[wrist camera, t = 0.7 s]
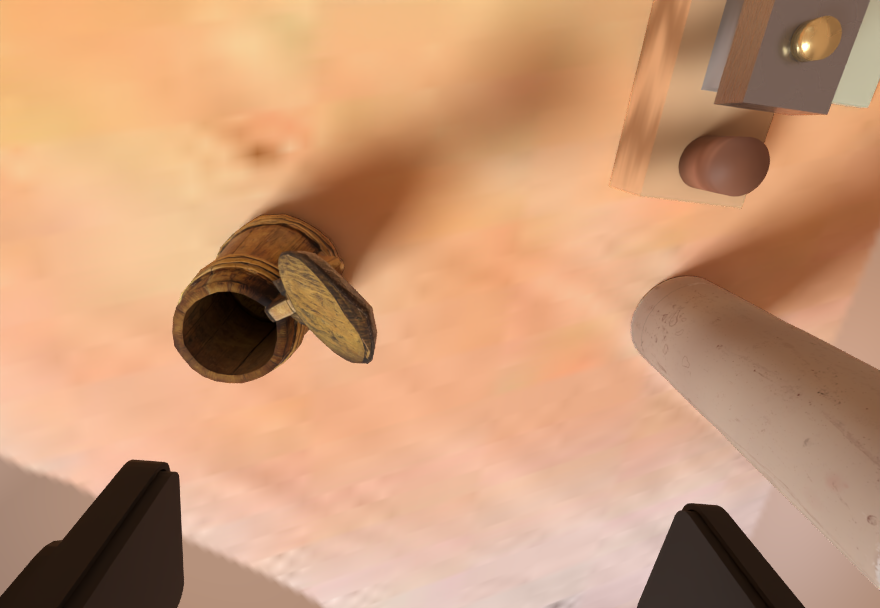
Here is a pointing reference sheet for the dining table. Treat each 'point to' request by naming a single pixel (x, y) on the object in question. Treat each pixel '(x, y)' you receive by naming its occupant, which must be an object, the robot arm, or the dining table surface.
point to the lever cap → (789, 55)
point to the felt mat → (862, 63)
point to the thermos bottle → (776, 404)
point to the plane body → (689, 112)
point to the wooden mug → (270, 303)
